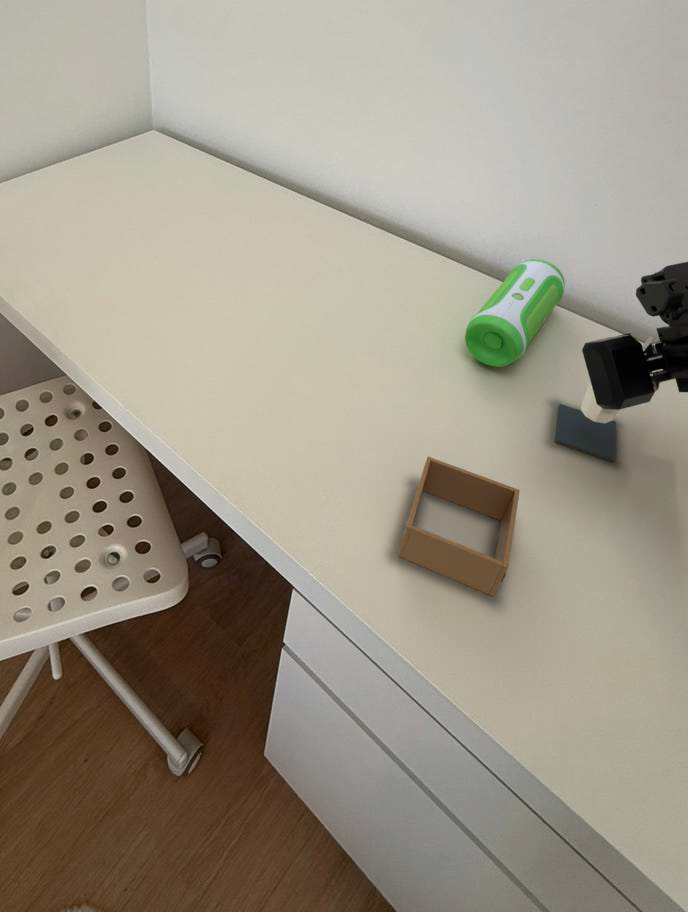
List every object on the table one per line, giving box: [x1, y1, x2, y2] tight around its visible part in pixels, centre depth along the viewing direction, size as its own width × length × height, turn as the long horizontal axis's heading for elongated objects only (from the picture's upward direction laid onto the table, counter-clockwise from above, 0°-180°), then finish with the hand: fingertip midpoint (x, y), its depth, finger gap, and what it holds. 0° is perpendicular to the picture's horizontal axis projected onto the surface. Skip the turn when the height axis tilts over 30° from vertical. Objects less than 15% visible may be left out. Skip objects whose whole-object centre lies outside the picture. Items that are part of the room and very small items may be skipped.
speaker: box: [464, 258, 566, 368], centre depth 87 cm, size 18×7×8 cm, turn 139°
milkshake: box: [579, 335, 655, 424], centre depth 71 cm, size 4×5×10 cm
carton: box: [397, 456, 521, 597], centre depth 64 cm, size 9×9×5 cm
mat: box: [554, 403, 617, 463], centre depth 76 cm, size 6×6×1 cm
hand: (611, 359), depth 71 cm, fingers closed on milkshake, 5 cm apart
